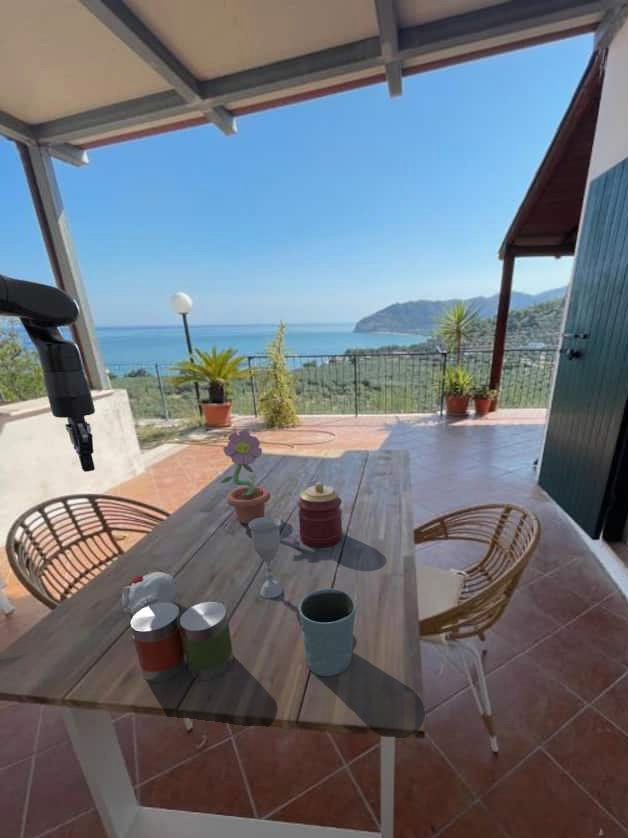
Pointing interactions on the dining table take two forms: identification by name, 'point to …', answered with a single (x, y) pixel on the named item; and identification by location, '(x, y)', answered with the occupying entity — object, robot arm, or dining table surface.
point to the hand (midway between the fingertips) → (88, 470)
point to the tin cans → (182, 641)
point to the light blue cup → (327, 630)
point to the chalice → (267, 549)
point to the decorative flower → (250, 497)
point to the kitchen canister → (320, 516)
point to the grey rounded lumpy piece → (148, 592)
